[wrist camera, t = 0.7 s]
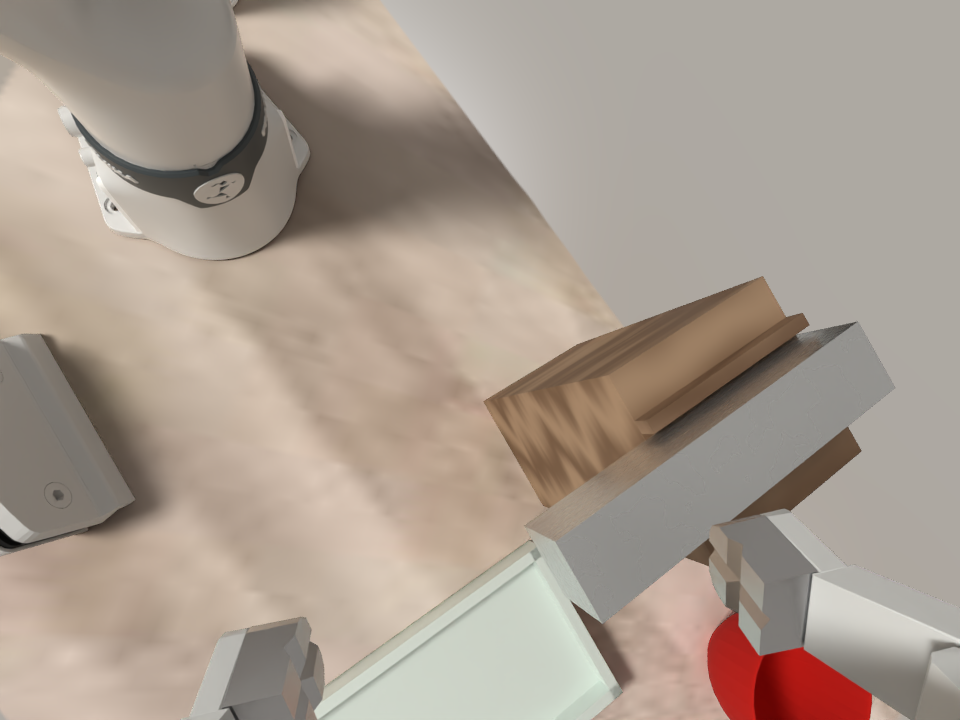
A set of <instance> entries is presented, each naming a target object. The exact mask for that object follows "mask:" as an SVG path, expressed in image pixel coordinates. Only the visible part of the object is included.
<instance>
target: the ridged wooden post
mask: <svg viewBox="0 0 960 720" xmlns="http://www.w3.org/2000/svg"><path fill="white" fill-rule="evenodd" d="M807 326H809V323H808V322H807V320H806V318H805V316H804V315H803V313H801V314H797V315H793V316H789V317H786V316H785V315H784V313H783V311H782V309H781V307H780V306H779V304H778V302H777V300H776V299H775V297H774V295H773V293H772V292H771V290H770V288H769V286H768V284H767V283H766V281H765V279H764V277H763V276H762V277H760V278H757V279H754V280H752V281H749V282H746V283H743V284H740V285H738V286H735V287H733V288H730V289H727V290H724V291H722V292H719V293H716V294H713V295H711V296H708V297H705V298H702V299H700V300H697V301H694V302H692V303H689V304H686V305H683V306H681V307H678V308H675V309H673V310H670V311H667V312H664V313H662V314H659V315H656V316H654V317H651V318H648V319H645V320H643V321H640V322H637V323H635V324H632V325H629V326H627V327H624V328H621V329H618V330H615V331H613V332H610V333H607V334H604V335H602V336H599V337H596V338H594V339H591V340H588V341H585V342H583V343H580V344H577V345H576V346H574V347H572V348H571V349H569V350H567V351H566V352H564V353H563V354H561V355H559V356H558V357H556V358H554V359H553V360H551V361H549V362H548V363H546V364H544V365H543V366H541V367H539V368H538V369H536V370H535V371H533V372H531V373H530V374H528V375H526V376H525V377H523V378H521V379H520V380H518V381H516V382H515V383H513V384H511V385H510V386H508V387H507V388H505V389H503V390H502V391H500V392H498V393H497V394H495V395H493V396H492V397H490V398H488V399H487V400H485V401H483V402H484V403H485V405H486V407H487V409H488V410H489V412H490V414H491V416H492V417H493V419H494V421H495V422H496V424H497V426H498V428H499V429H500V431H501V433H502V435H503V436H504V438H505V440H506V442H507V443H508V445H509V447H510V449H511V450H512V452H513V454H514V456H515V457H516V459H517V461H518V462H519V464H520V466H521V468H522V469H523V471H524V473H525V475H526V476H527V478H528V480H529V482H530V483H531V485H532V487H533V489H534V490H535V492H536V494H537V496H538V497H539V499H540V501H541V503H542V504H543V506H546V507H548V508H550V507H552V506H553V505H554V504H556V503H557V502H559V501H560V500H561V499H563V498H564V497H566V496H567V495H569V494H570V493H571V492H573V491H574V490H576V489H577V488H579V487H580V486H581V485H583V484H584V483H586V482H587V481H589V480H590V479H591V478H593V477H594V476H596V475H597V474H598V473H600V472H601V471H603V470H604V469H606V468H607V467H608V466H610V465H611V464H613V463H614V462H616V461H617V460H618V459H620V458H621V457H623V456H624V455H626V454H627V453H628V452H630V451H631V450H633V449H634V448H635V447H637V446H638V445H640V444H641V443H643V442H644V441H645V440H647V439H648V438H650V437H651V436H653V435H654V434H655V433H657V432H658V431H660V430H661V429H663V428H664V427H665V426H667V425H668V424H670V423H671V422H672V421H674V420H675V419H677V418H678V417H680V416H681V415H682V414H684V413H685V412H687V411H688V410H690V409H691V408H692V407H694V406H695V405H697V404H698V403H700V402H701V401H702V400H704V399H705V398H707V397H708V396H709V395H711V394H712V393H714V392H715V391H717V390H718V389H719V388H721V387H722V386H724V385H725V384H727V383H728V382H729V381H731V380H732V379H734V378H735V377H737V376H738V375H739V374H741V373H742V372H744V371H745V370H746V369H748V368H749V367H751V366H752V365H754V364H755V363H756V362H758V361H759V360H761V359H762V358H764V357H765V356H766V355H768V354H769V353H771V352H772V351H774V350H775V349H776V348H778V347H779V346H781V345H782V344H783V343H785V342H786V341H788V340H789V339H791V338H792V337H793V336H795V335H796V334H797V333H799V332H800V331H802V330H803V329H805V328H806V327H807ZM860 452H861V449H860V447H859V446H858V444H857V442H856V440H855V439H854V437H853V435H852V433H851V432H850V430H849V428H848V426H847V427H846V428H845V429H844V430H842V431H841V432H840V433H839V434H837V435H836V436H835V437H834V438H832V439H831V440H830V441H829V442H828V443H826V444H825V445H824V446H823V447H821V448H820V449H819V450H818V451H816V452H815V453H814V454H813V455H811V456H810V457H809V458H808V459H806V460H805V461H804V462H803V463H801V464H800V465H799V466H798V467H797V468H795V469H794V470H793V471H792V472H790V473H789V474H788V475H787V476H785V477H784V478H783V479H782V480H780V481H779V482H778V483H777V484H775V485H774V486H773V487H772V488H770V489H769V490H768V491H767V492H766V493H764V494H763V495H762V496H761V497H759V498H758V499H757V500H756V501H754V502H753V503H752V504H751V505H749V506H748V507H747V508H746V509H744V510H743V511H742V512H741V513H739V514H738V515H737V516H736V517H735V518H733V519H732V520H731V521H733V520H737V519H741V518H746V517H750V516H754V515H760V514H763V513H767V512H772V511H776V510H780V509H787V510H789V511H791V510H792V509H793V508H794V507H795V506H797V505H798V504H799V503H800V502H801V501H802V500H804V499H805V498H806V497H807V496H809V495H810V494H811V493H812V492H813V491H815V490H816V489H817V488H818V487H819V486H821V485H822V484H823V483H824V482H825V481H827V480H828V479H829V478H830V477H831V476H832V475H834V474H835V473H836V472H837V471H838V470H840V469H841V468H842V467H843V466H844V465H845V464H847V463H848V462H849V461H850V460H852V459H853V458H854V457H855V456H856V455H858V454H859V453H860ZM714 550H715V548H714V547H713V545H712V544H711V543H710V541H709V538H708V539H707V540H706V541H705V542H704V543H702V544H701V545H700V546H699V547H697V548H696V549H695V550H694V551H692V552H691V553H690V554H689V555H687V556H686V557H685V558H688V559H691V560H694V561H696V562H699V563H702V564H704V565H707V566H709V557H710V556H711V554H712V553H713V552H714Z"/></svg>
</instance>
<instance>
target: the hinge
mask: <svg viewBox="0 0 960 720" xmlns="http://www.w3.org/2000/svg"><path fill="white" fill-rule="evenodd" d="M134 500H135V498H134V496H133V495H132V493H131V491H130V489H129V488H128V486H127V484H126V482H125V481H124V479H123V477H122V475H121V474H120V472H119V470H118V468H117V467H116V465H115V463H114V461H113V460H112V458H111V456H110V455H109V453H108V451H107V449H106V448H105V446H104V444H103V442H102V441H101V439H100V437H99V435H98V434H97V432H96V430H95V428H94V427H93V425H92V423H91V421H90V420H89V418H88V416H87V414H86V413H85V411H84V409H83V408H82V406H81V404H80V402H79V401H78V399H77V397H76V395H75V394H74V392H73V390H72V388H71V387H70V385H69V383H68V381H67V380H66V378H65V376H64V374H63V373H62V371H61V369H60V367H59V366H58V364H57V362H56V361H55V359H54V357H53V355H52V354H51V352H50V350H49V348H48V347H47V345H46V343H45V341H44V340H43V338H42V336H41V334H20V335H16V336H12V337H9V338H5V339H1V340H0V556H3V555H7V554H10V553H14V552H17V551H20V550H24V549H27V548H31V547H34V546H38V545H41V544H45V543H48V542H52V541H55V540H58V539H62V538H65V537H69V536H72V535H76V534H79V533H82V532H85V531H89V530H88V528H87V527H89V526H93V525H96V524H100V523H102V522H104V521H105V520H106V519H107V518H108V517H110V516H111V515H112V514H113V513H114V512H115V511H117V510H118V509H120V508H122V507H124V506H126V505H129V504H131V503H132V502H133V501H134Z"/></svg>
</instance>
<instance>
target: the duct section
mask: <svg viewBox="0 0 960 720" xmlns="http://www.w3.org/2000/svg"><path fill="white" fill-rule="evenodd" d="M894 388H895V386H894V385H893V383H892V381H891V379H890V377H889V376H888V374H887V372H886V370H885V369H884V367H883V365H882V363H881V361H880V360H879V358H878V356H877V354H876V353H875V351H874V349H873V347H872V346H871V344H870V342H869V340H868V338H867V337H866V335H865V333H864V331H863V330H862V328H861V326H860V324H859V322H854V323H849V324H845V325H839V326H835V327H831V328H826V329H821V330H816V331H811V332H807V333H802V334H797V335H795V336H793V337H792V338H791V339H789V340H788V341H786V342H785V343H783V344H782V345H781V346H779V347H778V348H776V349H775V350H774V351H772V352H771V353H769V354H768V355H766V356H765V357H764V358H762V359H761V360H759V361H758V362H756V363H755V364H754V365H752V366H751V367H749V368H748V369H746V370H745V371H744V372H742V373H741V374H739V375H738V376H737V377H735V378H734V379H732V380H731V381H729V382H728V383H727V384H725V385H724V386H722V387H721V388H719V389H718V390H717V391H715V392H714V393H712V394H711V395H709V396H708V397H707V398H705V399H704V400H702V401H701V402H700V403H698V404H697V405H695V406H694V407H692V408H691V409H690V410H688V411H687V412H685V413H684V414H682V415H681V416H680V417H678V418H677V419H675V420H674V421H672V422H671V423H670V424H668V425H667V426H665V427H664V428H663V429H661V430H660V431H658V432H657V433H655V434H654V435H653V436H651V437H650V438H648V439H647V440H645V441H644V442H643V443H641V444H640V445H638V446H637V447H635V448H634V449H633V450H631V451H630V452H628V453H627V454H626V455H624V456H623V457H621V458H620V459H618V460H617V461H616V462H614V463H613V464H611V465H610V466H608V467H607V468H606V469H604V470H603V471H601V472H600V473H598V474H597V475H596V476H594V477H593V478H591V479H590V480H589V481H587V482H586V483H584V484H583V485H581V486H580V487H579V488H577V489H576V490H574V491H573V492H571V493H570V494H569V495H567V496H566V497H564V498H563V499H561V500H560V501H559V502H557V503H556V504H554V505H553V506H552V507H550V508H549V509H547V510H546V511H544V512H543V513H542V514H540V515H539V516H537V517H536V518H534V519H533V520H532V521H530V522H529V523H527V524H526V525H524V526H525V528H526V530H527V532H528V533H529V535H530V537H531V539H532V540H533V542H534V544H535V546H536V547H537V549H538V551H539V553H540V554H541V556H542V558H543V559H544V561H545V563H546V565H547V566H548V568H549V570H550V572H551V573H552V575H553V577H554V579H555V580H556V582H557V584H558V586H559V587H560V589H561V591H562V592H563V594H564V596H565V597H567V598H568V599H569V600H571V601H572V602H573V603H575V604H576V605H578V606H579V607H580V608H582V609H583V610H584V611H586V612H587V613H588V614H590V615H591V616H593V617H594V618H595V619H597V620H598V621H599V622H601V623H602V624H603V623H604V622H606V621H607V620H608V619H609V618H611V617H612V616H613V615H614V614H615V613H617V612H618V611H619V610H620V609H622V608H623V607H624V606H625V605H627V604H628V603H629V602H630V601H632V600H633V599H634V598H635V597H637V596H638V595H639V594H640V593H642V592H643V591H644V590H645V589H646V588H648V587H649V586H650V585H651V584H653V583H654V582H655V581H656V580H658V579H659V578H660V577H661V576H663V575H664V574H665V573H666V572H668V571H669V570H670V569H671V568H673V567H674V566H675V565H676V564H677V563H679V562H680V561H681V560H682V559H684V558H685V557H686V556H687V555H689V554H690V553H691V552H692V551H694V550H695V549H696V548H697V547H699V546H700V545H701V544H702V543H704V542H705V541H706V540H707V539H708V538H709V531H710V529H711V527H712V525H716V524H720V523H724V522H729V521H731V520H732V519H733V518H735V517H736V516H737V515H738V514H739V513H741V512H742V511H743V510H744V509H746V508H747V507H748V506H749V505H751V504H752V503H753V502H754V501H756V500H757V499H758V498H759V497H761V496H762V495H763V494H764V493H766V492H767V491H768V490H769V489H770V488H772V487H773V486H774V485H775V484H777V483H778V482H779V481H780V480H782V479H783V478H784V477H785V476H787V475H788V474H789V473H790V472H792V471H793V470H794V469H795V468H797V467H798V466H799V465H800V464H801V463H803V462H804V461H805V460H806V459H808V458H809V457H810V456H811V455H813V454H814V453H815V452H816V451H818V450H819V449H820V448H821V447H823V446H824V445H825V444H826V443H828V442H829V441H830V440H831V439H832V438H834V437H835V436H836V435H837V434H839V433H840V432H841V431H842V430H844V429H845V428H846V427H847V426H849V425H850V424H851V423H852V422H854V421H855V420H856V419H857V418H858V417H860V416H861V415H862V414H863V413H865V412H866V411H867V410H868V409H869V408H871V407H872V406H873V405H875V404H876V403H877V402H878V401H880V400H881V399H882V398H883V397H884V396H886V395H887V394H888V393H890V392H891V391H892V390H893V389H894Z"/></svg>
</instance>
